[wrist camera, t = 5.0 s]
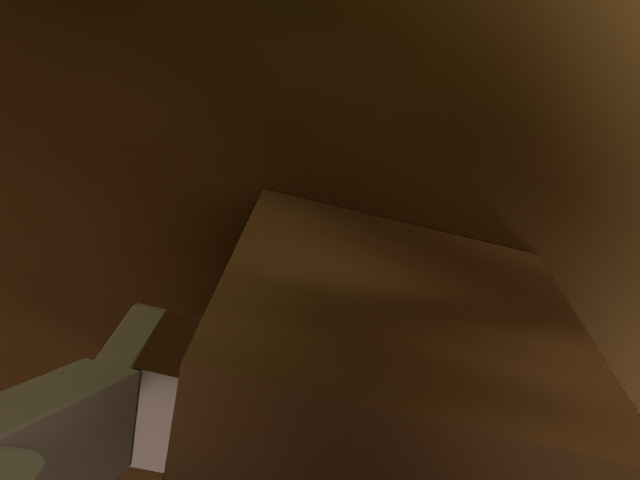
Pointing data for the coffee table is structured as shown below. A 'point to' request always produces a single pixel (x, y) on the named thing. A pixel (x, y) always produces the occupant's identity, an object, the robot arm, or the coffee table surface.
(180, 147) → the coffee table surface
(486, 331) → the walnut block
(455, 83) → the coffee table surface
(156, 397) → the robot arm
